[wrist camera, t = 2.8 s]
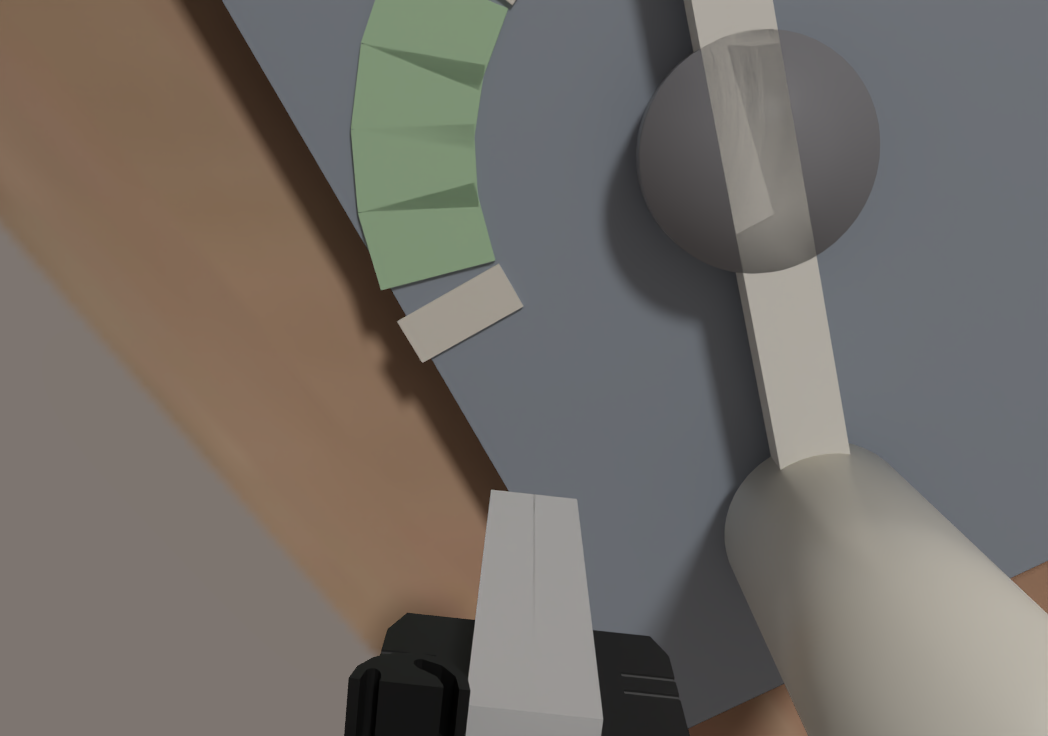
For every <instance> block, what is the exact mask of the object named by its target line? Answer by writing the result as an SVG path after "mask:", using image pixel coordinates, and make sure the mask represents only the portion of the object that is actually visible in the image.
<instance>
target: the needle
mask: <svg viewBox="0 0 1048 736" xmlns="http://www.w3.org/2000/svg"><path fill="white" fill-rule="evenodd" d="M684 5H685V11H686V16H687V21H688V26H689V32H690V37H691V42H692V47H693V53H691V54H690V55H688V56H687V57H685V58H684V59H683V60H682V61H681V62H680V63H678V64H677V65H676V66H675V67H674V68H673V69H672V70H671V71H670V72H669V73H668V74H667V75H666V77H665V78H664V79H663V80H662V82H661V83H660V84H659V86H658V87H657V89H656V90H655V92H654V93H653V95H652V97H651V99H650V101H649V103H648V105H647V107H646V109H645V112H644V115H643V117H642V120H641V124H640V128H639V132H638V136H637V145H636V169H637V176H638V182H639V186H640V189H641V193H642V196H643V198H644V201H645V203H646V205H647V208H648V210H649V212H650V213H651V215H652V217H653V218H654V220H655V222H656V223H657V224H658V225H659V227H660V228H661V229H662V230H663V232H664V233H665V234H666V235H667V236H668V237H669V238H670V239H671V240H672V241H674V242H675V243H676V244H677V245H678V246H679V247H681V248H682V249H683V250H685V251H686V252H687V253H689V254H690V255H692V256H693V257H695V258H697V259H698V260H700V261H702V262H704V263H706V264H708V265H711V266H714V267H716V268H719V269H723V270H727V271H731V272H736V277H737V282H738V287H739V293H740V298H741V303H742V308H743V313H744V319H745V324H746V329H747V334H748V339H749V345H750V350H751V355H752V360H753V366H754V371H755V376H756V381H757V386H758V392H759V397H760V402H761V407H762V413H763V418H764V423H765V428H766V433H767V439H768V444H769V449H770V454H771V457H769V458H767V459H766V460H765V461H763V462H762V463H761V464H759V465H758V466H757V467H756V468H755V469H754V470H753V471H752V472H751V473H750V474H749V475H748V476H747V477H746V479H745V480H744V481H743V482H742V483H741V485H740V487H739V488H738V490H737V491H736V493H735V495H734V497H733V499H732V501H731V504H730V506H729V509H728V513H727V516H726V522H725V537H724V540H725V548H726V553H727V557H728V560H729V563H730V565H731V567H732V570H733V572H734V574H735V576H736V579H737V581H738V583H739V585H740V587H741V590H742V592H743V594H744V596H745V598H746V601H747V603H748V605H749V607H750V609H751V612H752V614H753V616H754V618H755V620H756V622H757V625H758V627H759V629H760V631H761V633H762V636H763V638H764V640H765V642H766V644H767V647H768V649H769V651H770V653H771V655H772V658H773V660H774V662H775V664H776V666H777V669H778V671H779V673H780V675H781V677H782V680H783V682H784V684H785V686H786V688H787V691H788V693H789V695H790V697H791V699H792V702H793V704H794V706H795V708H796V710H797V713H798V715H799V717H800V719H801V721H802V724H803V726H804V728H805V730H806V732H807V734H808V736H1048V614H1047V613H1046V612H1045V611H1044V610H1043V609H1042V608H1041V607H1039V606H1038V605H1037V604H1036V603H1035V602H1034V601H1033V600H1032V599H1031V598H1030V597H1029V596H1028V595H1027V594H1026V593H1025V592H1024V591H1023V590H1022V589H1020V588H1019V587H1018V586H1017V585H1016V584H1015V583H1014V582H1013V581H1012V580H1011V579H1010V578H1009V577H1008V576H1007V575H1006V574H1005V573H1004V572H1002V571H1001V570H1000V569H999V568H998V567H997V566H996V565H995V564H994V563H993V562H992V561H991V560H990V559H989V558H988V557H987V556H986V555H984V554H983V553H982V552H981V551H980V550H979V549H978V548H977V547H976V546H975V545H974V544H973V543H972V542H971V541H970V540H969V539H968V538H966V537H965V536H964V535H963V534H962V533H961V532H960V531H959V530H958V529H957V528H956V527H955V526H954V525H953V524H952V523H951V522H950V521H949V520H947V519H946V518H945V517H944V516H943V515H942V514H941V513H940V512H939V511H938V510H937V509H936V508H935V507H934V506H933V505H932V504H931V503H929V502H928V501H927V500H926V499H925V498H924V497H923V496H922V495H921V494H920V493H919V492H918V491H917V490H916V489H915V488H914V487H913V486H911V485H910V484H909V483H908V482H907V481H906V480H905V479H904V478H903V477H902V476H901V475H900V474H899V473H898V472H897V471H896V470H895V469H894V468H892V467H891V466H890V465H889V464H888V463H887V462H886V461H885V460H883V459H882V458H881V457H879V456H878V455H876V454H875V453H873V452H871V451H869V450H867V449H865V448H862V447H860V446H857V445H854V444H850V443H848V437H847V431H846V425H845V420H844V414H843V408H842V402H841V396H840V390H839V384H838V379H837V373H836V367H835V361H834V355H833V349H832V344H831V338H830V332H829V326H828V320H827V314H826V308H825V303H824V297H823V291H822V285H821V279H820V273H819V267H818V262H817V255H819V254H820V253H822V252H824V251H825V250H826V249H827V248H829V247H830V246H831V245H832V244H834V243H835V242H836V241H837V240H838V239H839V238H840V237H841V236H842V235H843V234H844V233H845V232H846V231H847V230H848V229H849V228H850V226H851V225H852V224H853V223H854V221H855V220H856V219H857V217H858V216H859V214H860V212H861V211H862V209H863V207H864V206H865V204H866V202H867V200H868V197H869V195H870V193H871V191H872V188H873V185H874V182H875V178H876V175H877V170H878V164H879V159H880V131H879V123H878V119H877V114H876V110H875V107H874V104H873V102H872V99H871V96H870V94H869V92H868V90H867V88H866V86H865V85H864V83H863V81H862V80H861V78H860V77H859V75H858V74H857V73H856V71H855V70H854V69H853V68H852V66H851V65H850V64H849V63H848V62H847V61H846V60H845V59H844V58H843V57H842V56H840V55H839V54H838V53H836V52H835V51H834V50H833V49H831V48H830V47H828V46H826V45H825V44H823V43H821V42H819V41H818V40H816V39H813V38H811V37H808V36H806V35H803V34H800V33H796V32H791V31H787V30H778V27H777V22H776V16H775V10H774V4H773V0H684Z"/></svg>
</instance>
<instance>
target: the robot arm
mask: <svg viewBox="0 0 1048 736" xmlns="http://www.w3.org/2000/svg"><path fill="white" fill-rule="evenodd" d="M674 679H675V677H674V673H673V669H672V666H671V662H670V658H669V656H668V655H667V654H666V652H665V651H664V650H663V649H662V648H661V647H660V646H659V645H658V644H657V643H656V642H655V641H654V640H653V639H652V638H651V637H650V636H644V635H635V634H625V633H616V632H606V631H597V630H593V629H592V620H591V612H590V604H589V595H588V587H587V578H586V570H585V562H584V553H583V545H582V537H581V528H580V520H579V511H578V503H577V499H573V498H563V497H554V496H545V495H536V494H527V493H517V492H508V491H499V490H491V494H490V503H489V511H488V519H487V527H486V536H485V544H484V552H483V560H482V569H481V577H480V585H479V594H478V602H477V610H476V618H475V620H469V619H460V618H450V617H441V616H431V615H422V614H413V613H407V614H405V615H404V616H403V617H402V618H401V619H399V620H398V621H397V622H396V623H394V624H393V625H392V626H391V627H390V628H388V630H387V633H386V637H385V640H384V643H383V647H382V651H381V654H380V656H377V657H373V658H371V659H369V660H367V661H366V662H364V663H362V664H360V665H358V666H357V667H356V669H355V670H354V671H353V673H352V674H351V676H350V677H349V683H348V696H347V708H346V721H345V734H344V736H690V735H689V731H688V727H687V723H686V719H685V716H684V712H683V708H682V704H681V700H679V693H678V689H677V685H676V682H674Z"/></svg>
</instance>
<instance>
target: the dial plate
mask: <svg viewBox="0 0 1048 736" xmlns="http://www.w3.org/2000/svg"><path fill="white" fill-rule="evenodd" d="M222 1H223V3H224V5H225V6H226V8H227V10H228V11H229V13H230V15H231V17H232V18H233V20H234V22H235V23H236V25H237V27H238V28H239V30H240V32H241V34H242V35H243V37H244V39H245V40H246V42H247V44H248V46H249V47H250V49H251V51H252V52H253V54H254V56H255V58H256V59H257V61H258V63H259V64H260V66H261V68H262V70H263V71H264V73H265V75H266V76H267V78H268V80H269V82H270V83H271V85H272V87H273V88H274V90H275V92H276V94H277V95H278V97H279V99H280V100H281V102H282V104H283V105H284V107H285V109H286V111H287V112H288V114H289V116H290V117H291V119H292V121H293V123H294V124H295V126H296V128H297V129H298V131H299V133H300V135H301V136H302V138H303V140H304V141H305V143H306V145H307V147H308V148H309V150H310V152H311V153H312V155H313V157H314V159H315V160H316V162H317V164H318V165H319V167H320V169H321V171H322V172H323V174H324V176H325V177H326V179H327V181H328V182H329V184H330V186H331V188H332V189H333V191H334V193H335V194H336V196H337V198H338V200H339V201H340V203H341V205H342V206H343V208H344V210H345V212H346V213H347V215H348V217H349V218H350V220H351V222H352V224H353V225H354V227H355V229H356V230H357V232H358V234H359V236H360V237H361V239H362V241H363V242H364V244H365V246H366V248H367V249H368V251H369V253H370V255H371V259H372V262H373V265H374V269H375V272H376V275H377V279H378V282H379V285H380V289H381V290H384V289H388V288H390V289H391V290H392V292H393V294H394V295H395V297H396V299H397V301H398V302H399V304H400V306H401V307H402V309H403V311H404V313H405V314H406V316H405V317H403V318H402V319H400V320H398V321H397V322H398V324H399V326H400V327H401V329H402V331H403V332H404V334H405V335H406V337H407V339H408V340H409V342H410V344H411V345H412V347H413V349H414V350H415V352H416V353H417V355H418V357H419V358H420V360H421V362H422V363H423V362H425V361H427V360H429V359H430V358H431V359H432V360H433V362H434V364H435V366H436V367H437V369H438V371H439V372H440V374H441V376H442V378H443V379H444V381H445V383H446V384H447V386H448V388H449V390H450V391H451V393H452V395H453V396H454V398H455V400H456V402H457V403H458V405H459V407H460V408H461V410H462V412H463V414H464V415H465V417H466V419H467V420H468V422H469V424H470V425H471V427H472V429H473V431H474V432H475V434H476V436H477V437H478V439H479V441H480V443H481V444H482V446H483V448H484V449H485V451H486V453H487V455H488V456H489V458H490V460H491V461H492V463H493V465H494V467H495V468H496V470H497V472H498V473H499V475H500V477H501V479H502V480H503V482H504V484H505V485H506V487H507V489H508V491H509V492H517V493H527V494H536V495H545V496H554V497H563V498H573V499H577V503H578V511H579V520H580V528H581V537H582V545H583V553H584V562H585V570H586V578H587V587H588V595H589V604H590V612H591V620H592V629H593V630H597V631H606V632H616V633H625V634H635V635H644V636H650V637H651V638H652V639H653V640H654V641H655V642H656V643H657V644H658V645H659V646H660V647H661V648H662V649H663V650H664V651H665V652H666V654H667V655H668V656H669V658H670V662H671V666H672V669H673V673H674V677H675V679H674V682H676V685H677V689H678V693H679V700H681V704H682V708H683V712H684V716H685V719H686V723H687V727H688V728H690V727H692V726H694V725H697V724H699V723H701V722H703V721H705V720H707V719H709V718H712V717H714V716H716V715H718V714H720V713H722V712H724V711H727V710H729V709H731V708H733V707H735V706H737V705H739V704H742V703H744V702H746V701H748V700H750V699H752V698H754V697H756V696H759V695H761V694H763V693H765V692H767V691H769V690H771V689H774V688H776V687H778V686H780V685H782V684H784V682H783V680H782V677H781V675H780V673H779V671H778V669H777V666H776V664H775V662H774V660H773V658H772V655H771V653H770V651H769V649H768V647H767V644H766V642H765V640H764V638H763V636H762V633H761V631H760V629H759V627H758V625H757V622H756V620H755V618H754V616H753V614H752V612H751V609H750V607H749V605H748V603H747V601H746V598H745V596H744V594H743V592H742V590H741V587H740V585H739V583H738V581H737V579H736V576H735V574H734V572H733V570H732V567H731V565H730V563H729V560H728V557H727V553H726V548H725V540H724V537H725V522H726V516H727V513H728V509H729V506H730V504H731V501H732V499H733V497H734V495H735V493H736V491H737V490H738V488H739V487H740V485H741V483H742V482H743V481H744V480H745V479H746V477H747V476H748V475H749V474H750V473H751V472H752V471H753V470H754V469H755V468H756V467H757V466H758V465H759V464H761V463H762V462H763V461H765V460H766V459H767V458H769V457H771V454H770V449H769V444H768V439H767V433H766V428H765V423H764V418H763V413H762V407H761V402H760V397H759V392H758V386H757V381H756V376H755V371H754V366H753V360H752V355H751V350H750V345H749V339H748V334H747V329H746V324H745V319H744V313H743V308H742V303H741V298H740V293H739V287H738V282H737V277H736V272H731V271H727V270H723V269H719V268H716V267H714V266H711V265H708V264H706V263H704V262H702V261H700V260H698V259H697V258H695V257H693V256H692V255H690V254H689V253H687V252H686V251H685V250H683V249H682V248H681V247H679V246H678V245H677V244H676V243H675V242H674V241H672V240H671V239H670V238H669V237H668V236H667V235H666V234H665V233H664V232H663V230H662V229H661V228H660V227H659V225H658V224H657V223H656V222H655V220H654V218H653V217H652V215H651V213H650V212H649V210H648V208H647V205H646V203H645V201H644V198H643V196H642V193H641V189H640V186H639V182H638V176H637V169H636V145H637V136H638V132H639V128H640V124H641V120H642V117H643V115H644V112H645V109H646V107H647V105H648V103H649V101H650V99H651V97H652V95H653V93H654V92H655V90H656V89H657V87H658V86H659V84H660V83H661V82H662V80H663V79H664V78H665V77H666V75H667V74H668V73H669V72H670V71H671V70H672V69H673V68H674V67H675V66H676V65H677V64H678V63H680V62H681V61H682V60H683V59H684V58H685V57H687V56H688V55H690V54H691V53H693V47H692V42H691V37H690V32H689V26H688V21H687V16H686V11H685V5H684V0H222ZM773 4H774V10H775V16H776V22H777V27H778V30H787V31H791V32H796V33H800V34H803V35H806V36H808V37H811V38H813V39H816V40H818V41H819V42H821V43H823V44H825V45H826V46H828V47H830V48H831V49H833V50H834V51H835V52H836V53H838V54H839V55H840V56H842V57H843V58H844V59H845V60H846V61H847V62H848V63H849V64H850V65H851V66H852V68H853V69H854V70H855V71H856V73H857V74H858V75H859V77H860V78H861V80H862V81H863V83H864V85H865V86H866V88H867V90H868V92H869V94H870V96H871V99H872V102H873V104H874V107H875V110H876V114H877V119H878V123H879V131H880V159H879V164H878V170H877V175H876V178H875V182H874V185H873V188H872V191H871V193H870V195H869V197H868V200H867V202H866V204H865V206H864V207H863V209H862V211H861V212H860V214H859V216H858V217H857V219H856V220H855V221H854V223H853V224H852V225H851V226H850V228H849V229H848V230H847V231H846V232H845V233H844V234H843V235H842V236H841V237H840V238H839V239H838V240H837V241H836V242H835V243H834V244H832V245H831V246H830V247H829V248H827V249H826V250H825V251H824V252H822V253H820V254H819V255H817V262H818V267H819V273H820V279H821V285H822V291H823V297H824V303H825V308H826V314H827V320H828V326H829V332H830V338H831V344H832V349H833V355H834V361H835V367H836V373H837V379H838V384H839V390H840V396H841V402H842V408H843V414H844V420H845V425H846V431H847V437H848V443H850V444H854V445H857V446H860V447H862V448H865V449H867V450H869V451H871V452H873V453H875V454H876V455H878V456H879V457H881V458H882V459H883V460H885V461H886V462H887V463H888V464H889V465H890V466H891V467H892V468H894V469H895V470H896V471H897V472H898V473H899V474H900V475H901V476H902V477H903V478H904V479H905V480H906V481H907V482H908V483H909V484H910V485H911V486H913V487H914V488H915V489H916V490H917V491H918V492H919V493H920V494H921V495H922V496H923V497H924V498H925V499H926V500H927V501H928V502H929V503H931V504H932V505H933V506H934V507H935V508H936V509H937V510H938V511H939V512H940V513H941V514H942V515H943V516H944V517H945V518H946V519H947V520H949V521H950V522H951V523H952V524H953V525H954V526H955V527H956V528H957V529H958V530H959V531H960V532H961V533H962V534H963V535H964V536H965V537H966V538H968V539H969V540H970V541H971V542H972V543H973V544H974V545H975V546H976V547H977V548H978V549H979V550H980V551H981V552H982V553H983V554H984V555H986V556H987V557H988V558H989V559H990V560H991V561H992V562H993V563H994V564H995V565H996V566H997V567H998V568H999V569H1000V570H1001V571H1002V572H1004V573H1005V574H1006V575H1007V576H1008V577H1009V578H1011V577H1014V576H1016V575H1018V574H1020V573H1022V572H1024V571H1026V570H1029V569H1031V568H1033V567H1035V566H1037V565H1039V564H1041V563H1044V562H1046V561H1048V0H773Z"/></svg>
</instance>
